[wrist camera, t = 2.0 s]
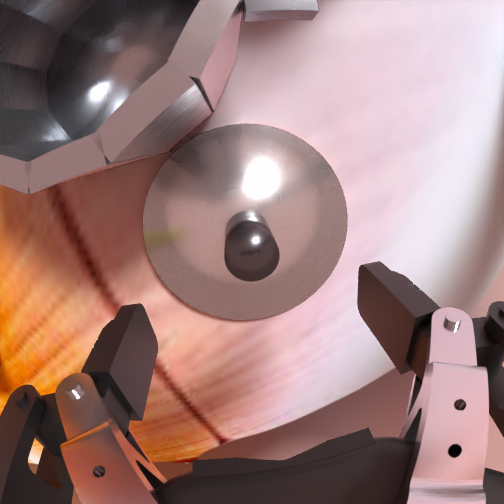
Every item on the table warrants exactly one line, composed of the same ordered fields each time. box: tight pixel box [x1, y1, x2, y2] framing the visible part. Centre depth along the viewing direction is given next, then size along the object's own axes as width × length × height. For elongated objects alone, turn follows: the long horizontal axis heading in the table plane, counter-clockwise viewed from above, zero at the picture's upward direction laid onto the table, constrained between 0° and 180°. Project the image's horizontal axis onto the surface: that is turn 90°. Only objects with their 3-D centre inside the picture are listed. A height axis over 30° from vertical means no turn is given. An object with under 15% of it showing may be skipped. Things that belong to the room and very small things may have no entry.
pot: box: [0, 0, 319, 194], centre depth 9 cm, size 19×14×9 cm
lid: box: [143, 124, 347, 320], centre depth 16 cm, size 14×14×5 cm
